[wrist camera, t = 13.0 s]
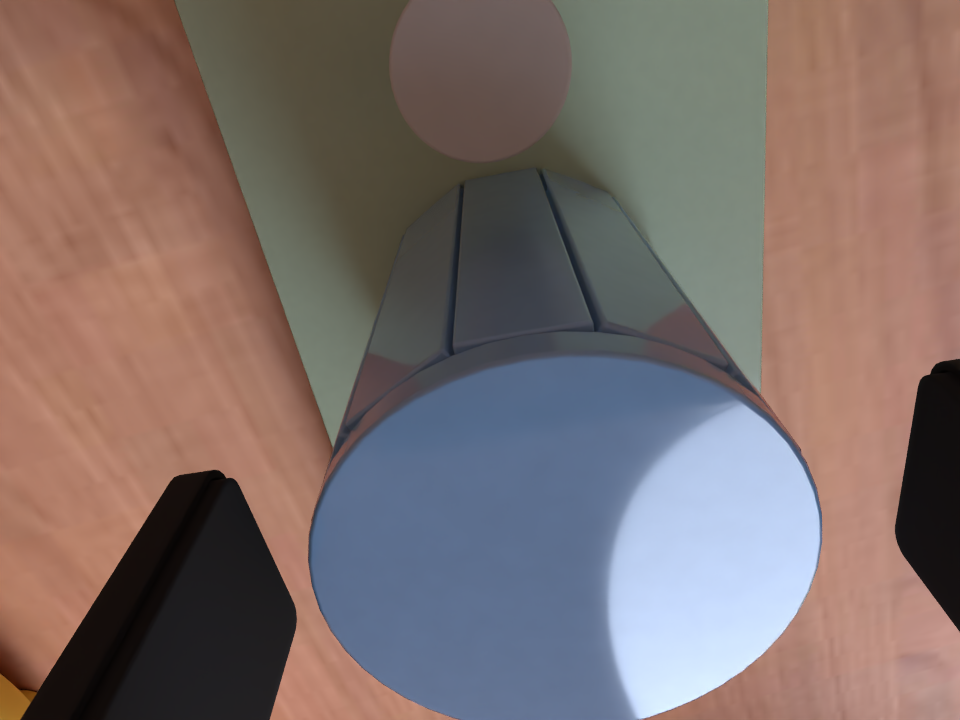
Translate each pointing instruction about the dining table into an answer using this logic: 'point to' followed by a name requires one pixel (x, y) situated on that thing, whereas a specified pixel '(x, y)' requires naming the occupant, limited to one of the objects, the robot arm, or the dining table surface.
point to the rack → (485, 139)
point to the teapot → (13, 700)
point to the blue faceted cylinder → (554, 473)
